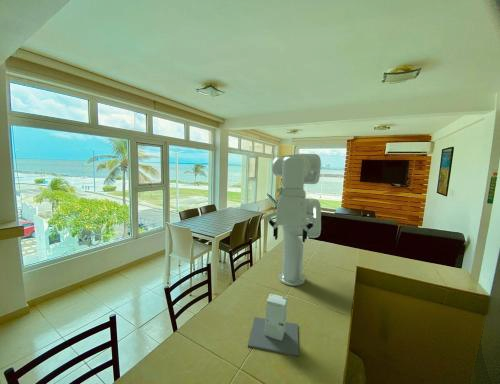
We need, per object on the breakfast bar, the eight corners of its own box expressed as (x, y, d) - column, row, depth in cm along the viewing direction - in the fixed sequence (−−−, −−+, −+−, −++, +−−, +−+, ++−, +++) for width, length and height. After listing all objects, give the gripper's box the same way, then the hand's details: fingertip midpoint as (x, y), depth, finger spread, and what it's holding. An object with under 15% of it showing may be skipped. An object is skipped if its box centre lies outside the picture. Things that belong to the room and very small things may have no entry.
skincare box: (264, 335, 67) (265, 300, 65) (267, 325, 71) (269, 292, 69) (283, 341, 65) (285, 305, 63) (286, 331, 69) (287, 297, 67)
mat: (254, 318, 75) (254, 316, 75) (297, 325, 72) (297, 323, 72) (247, 346, 63) (247, 344, 63) (298, 356, 61) (298, 354, 60)
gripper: (266, 192, 71) (264, 241, 73) (319, 195, 68) (315, 245, 70) (268, 190, 78) (266, 234, 80) (316, 192, 75) (313, 238, 77)
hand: (289, 239), depth 75 cm, fingers open, 9 cm apart
